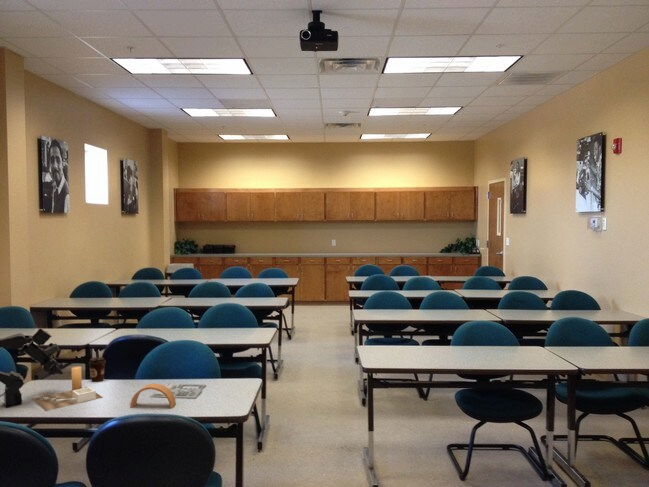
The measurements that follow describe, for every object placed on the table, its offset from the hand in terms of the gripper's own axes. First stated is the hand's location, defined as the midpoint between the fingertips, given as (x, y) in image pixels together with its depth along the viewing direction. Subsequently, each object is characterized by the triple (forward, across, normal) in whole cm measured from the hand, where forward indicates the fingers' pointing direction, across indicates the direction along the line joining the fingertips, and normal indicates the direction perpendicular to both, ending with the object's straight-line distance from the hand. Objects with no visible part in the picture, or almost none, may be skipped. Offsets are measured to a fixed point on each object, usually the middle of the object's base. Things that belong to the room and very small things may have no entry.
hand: (61, 371), depth 259 cm
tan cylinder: (+13, 0, +4) cm, 14 cm away
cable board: (+10, -8, +8) cm, 15 cm away
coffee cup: (+22, +15, -4) cm, 27 cm away
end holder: (+14, -13, +2) cm, 19 cm away
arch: (+34, -38, -16) cm, 53 cm away
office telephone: (+47, -24, -27) cm, 59 cm away
